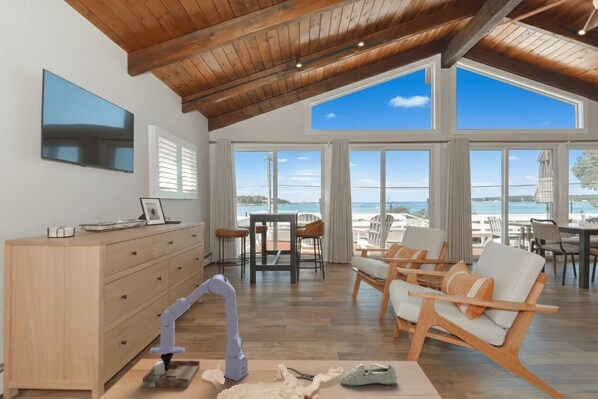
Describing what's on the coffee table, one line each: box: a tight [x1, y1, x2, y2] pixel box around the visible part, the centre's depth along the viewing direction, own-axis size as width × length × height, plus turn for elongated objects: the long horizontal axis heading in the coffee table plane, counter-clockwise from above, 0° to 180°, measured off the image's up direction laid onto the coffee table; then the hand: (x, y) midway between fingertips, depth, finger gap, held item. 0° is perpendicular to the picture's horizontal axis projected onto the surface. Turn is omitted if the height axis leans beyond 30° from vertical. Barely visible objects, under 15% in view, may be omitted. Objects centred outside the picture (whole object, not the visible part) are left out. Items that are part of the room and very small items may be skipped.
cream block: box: [153, 360, 166, 375], centre depth 142 cm, size 4×4×4 cm
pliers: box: [287, 367, 315, 382], centre depth 146 cm, size 10×1×20 cm
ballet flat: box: [339, 362, 398, 387], centre depth 140 cm, size 9×24×8 cm, turn 93°
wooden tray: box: [142, 359, 201, 388], centre depth 142 cm, size 18×16×4 cm
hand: (167, 370), depth 142 cm, fingers closed, pressing on cream block
